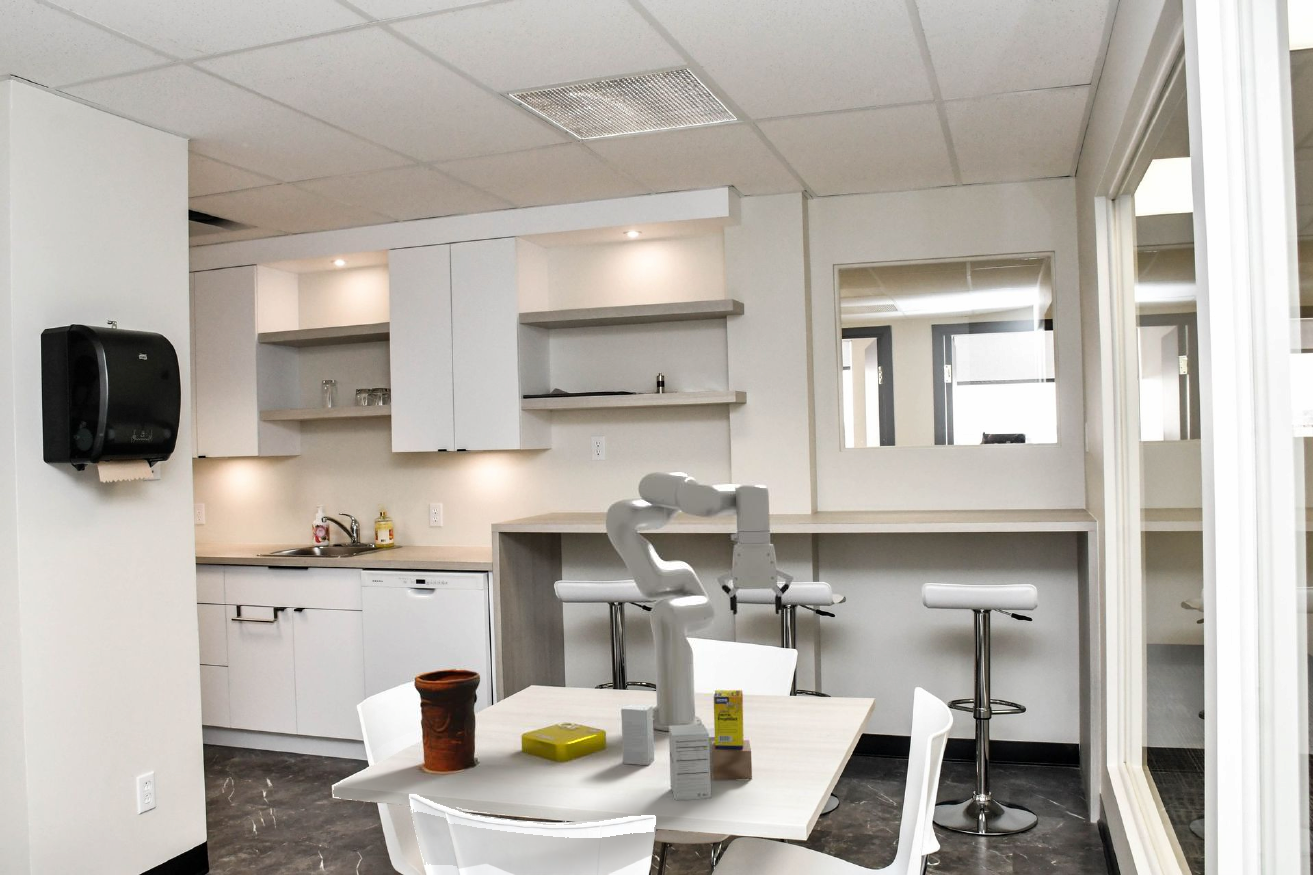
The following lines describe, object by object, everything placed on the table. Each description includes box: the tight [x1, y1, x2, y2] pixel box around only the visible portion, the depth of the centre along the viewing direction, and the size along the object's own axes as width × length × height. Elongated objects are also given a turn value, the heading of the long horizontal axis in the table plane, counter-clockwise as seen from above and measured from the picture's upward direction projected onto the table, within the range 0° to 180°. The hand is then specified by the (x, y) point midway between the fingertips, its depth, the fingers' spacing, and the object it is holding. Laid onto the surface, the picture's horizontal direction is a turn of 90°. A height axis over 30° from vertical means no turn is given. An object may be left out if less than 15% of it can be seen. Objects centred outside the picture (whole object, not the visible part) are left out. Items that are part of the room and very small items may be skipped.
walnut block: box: [711, 739, 753, 781], centre depth 209 cm, size 8×8×6 cm
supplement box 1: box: [668, 723, 712, 801], centre depth 197 cm, size 7×7×13 cm
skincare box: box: [620, 704, 655, 766], centre depth 219 cm, size 6×4×12 cm
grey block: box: [706, 727, 715, 764], centre depth 219 cm, size 7×7×6 cm
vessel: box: [413, 668, 481, 775], centre depth 222 cm, size 14×14×20 cm
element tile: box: [520, 721, 607, 763], centre depth 231 cm, size 15×15×5 cm
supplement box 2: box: [713, 689, 745, 749], centre depth 209 cm, size 6×6×11 cm
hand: (756, 613), depth 229 cm, fingers open, 9 cm apart
